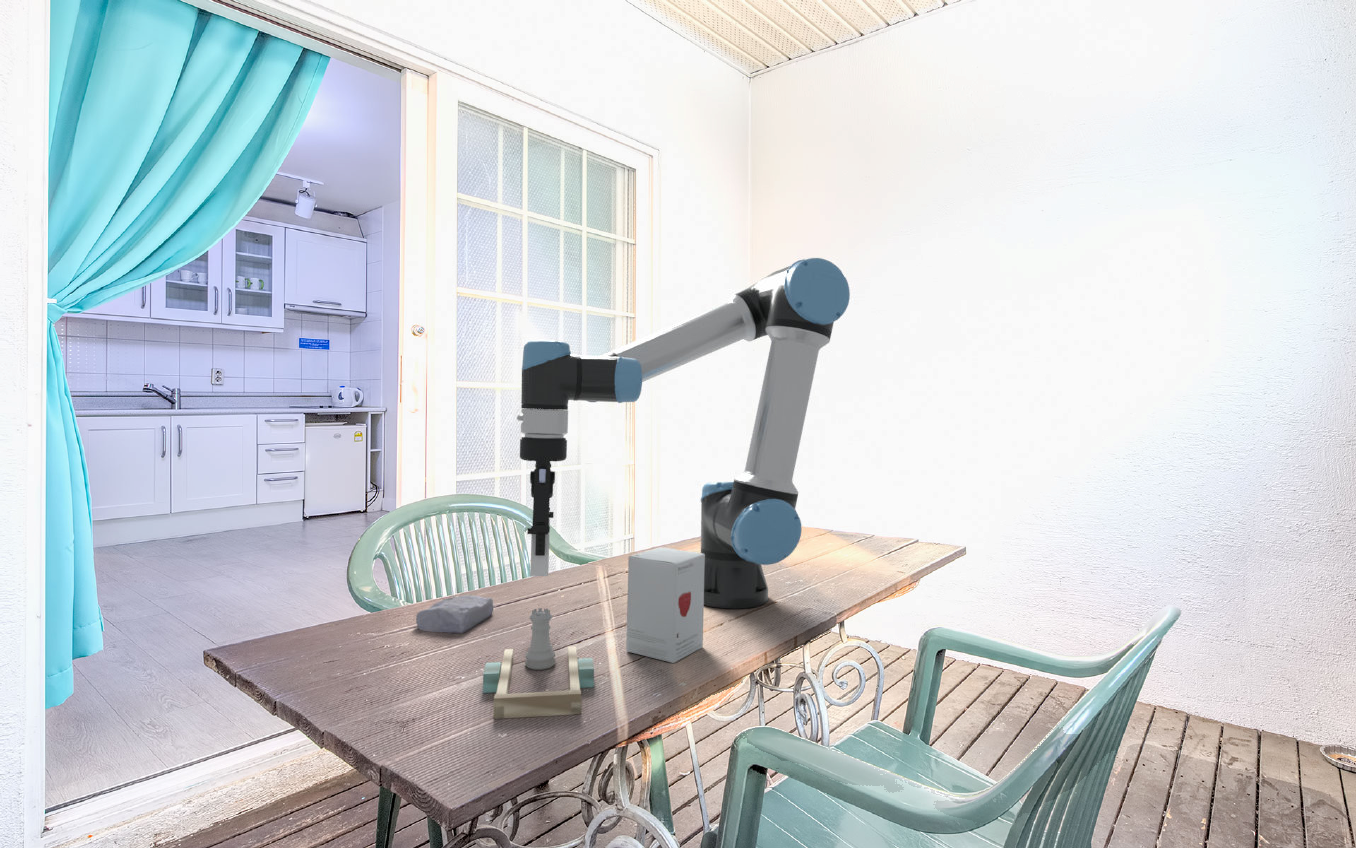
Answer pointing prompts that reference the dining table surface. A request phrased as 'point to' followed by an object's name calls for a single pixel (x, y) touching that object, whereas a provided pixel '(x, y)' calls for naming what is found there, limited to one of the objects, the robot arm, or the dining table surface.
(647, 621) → the supplement box
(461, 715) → the dining table surface
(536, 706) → the beam track
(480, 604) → the stone block
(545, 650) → the rook chess piece
